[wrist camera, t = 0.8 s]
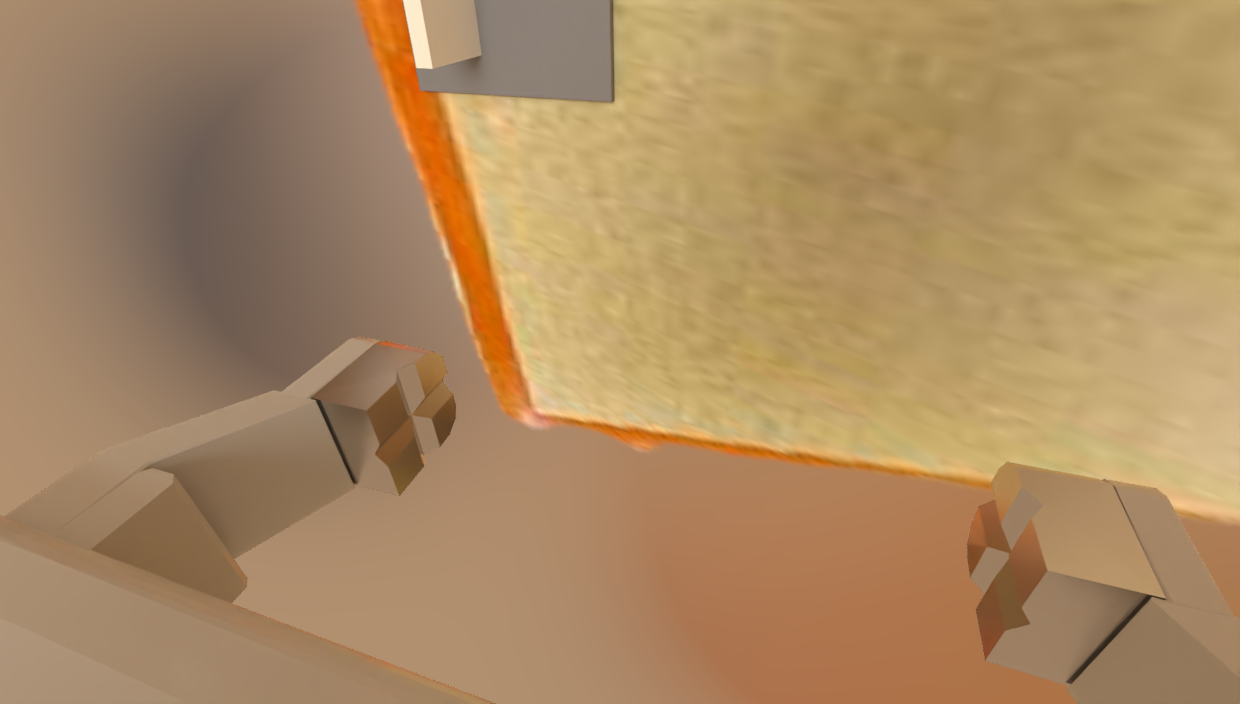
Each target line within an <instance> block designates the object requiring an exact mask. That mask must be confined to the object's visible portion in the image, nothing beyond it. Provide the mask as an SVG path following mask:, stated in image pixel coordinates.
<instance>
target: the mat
mask: <svg viewBox="0 0 1240 704" xmlns="http://www.w3.org/2000/svg"><path fill="white" fill-rule="evenodd" d="M474 2H475V10H476V17H477V24H478V32H479V39H480V47H481V54H482V55H481V56H477V57H474V58H470V59H467V60H463V61H459V62H456V63H452V64H448V65H445V66H441V67H438V68H434V69H426V68H416V71H417V77H418V82H419V87H420V91H436V92H452V93H469V94H486V95H503V96H519V97H536V98H553V99H570V100H586V101H603V102H612V101H614V68H613V7H612V0H474ZM403 5H404V2H403ZM404 10H405V7H404ZM405 16H406V12H405ZM406 21H407V17H406ZM407 26H408V23H407ZM408 31H409V28H408ZM409 36H410V33H409ZM410 41H411V38H410ZM411 46H412V43H411ZM412 51H413V48H412ZM413 56H414V53H413ZM414 61H415V58H414ZM415 66H416V63H415Z"/></svg>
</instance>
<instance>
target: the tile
mask: <svg viewBox="0 0 1240 704" xmlns="http://www.w3.org/2000/svg"><path fill="white" fill-rule="evenodd" d="M403 2H404V7H405V12H406V17H407V23H408V28H409V33H410V38H411V43H412V48H413V53H414V58H415V63H416V68H426V69H434V68H438V67H441V66H445V65H448V64H452V63H456V62H459V61H463V60H467V59H470V58H474V57H477V56H481V55H482V54H481V47H480V39H479V32H478V24H477V17H476V10H475V2H474V0H403Z"/></svg>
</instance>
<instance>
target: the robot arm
mask: <svg viewBox="0 0 1240 704" xmlns="http://www.w3.org/2000/svg"><path fill="white" fill-rule="evenodd" d="M447 373H448V372H447V369H446V366H445V362H444V359H443V356H441V355H439V354H437V353H435V352H433V351H428V350H424V349H419V348H415V347H410V346H406V345H401V344H396V343H392V342H387V341H379V340H375V339H371V338H367V337H362V336H361V337H355V338H350V339H349V340H348V341H347V342H345V343H344V344H343V345H341V346H340V347H339V348H337V349H336V350H335V351H334V352H332V353H331V354H330V355H328V356H327V357H326V358H325V359H323V360H322V361H321V362H319V363H318V364H317V365H316V366H314V367H313V368H312V369H310V370H309V371H308V372H307V373H306V374H304V375H303V376H302V377H300V378H299V379H298V380H296V381H295V382H294V383H293V384H291V385H290V386H289V387H288V388H286V389H285V390H284V391H282V392H278V391H271V392H268V393H265V394H262V395H259V396H257V397H254V398H251V399H248V400H245V401H242V402H239V403H236V404H233V405H231V406H228V407H225V408H222V409H219V410H216V411H213V412H210V413H207V414H204V415H201V416H199V417H196V418H193V419H190V420H187V421H184V422H181V423H178V424H175V425H173V426H170V427H167V428H164V429H161V430H158V431H155V432H152V433H149V434H146V435H144V436H141V437H138V438H135V439H132V440H129V441H126V442H123V443H120V444H117V445H115V446H112V447H109V448H106V449H103V450H101V451H100V452H99V453H97V454H95V455H94V456H93V457H91V458H90V459H88V460H87V461H85V462H84V463H82V464H81V465H79V466H78V467H76V468H75V469H73V470H72V471H70V472H69V473H68V474H66V475H65V476H63V477H62V478H60V479H59V480H57V481H56V482H54V483H53V484H51V485H50V486H48V487H47V488H45V489H44V490H42V491H41V492H40V493H38V494H36V495H35V496H33V497H32V498H30V499H29V500H28V501H26V502H25V503H23V504H22V505H20V506H19V507H17V508H16V509H15V510H13V511H11V512H10V513H8V514H7V515H5V516H4V517H3V516H0V704H496V703H493V702H490V701H488V700H485V699H483V698H480V697H477V696H475V695H472V694H470V693H467V692H464V691H462V690H459V689H456V688H454V687H451V686H449V685H446V684H443V683H441V682H438V681H435V680H433V679H430V678H427V677H425V676H422V675H420V674H417V673H414V672H412V671H409V670H406V669H404V668H401V667H398V666H396V665H393V664H390V663H388V662H385V661H383V660H380V659H377V658H375V657H372V656H369V655H367V654H364V653H362V652H359V651H356V650H354V649H351V648H348V647H346V646H343V645H340V644H338V643H335V642H332V641H330V640H327V639H324V638H322V637H319V636H317V635H314V634H311V633H309V632H306V631H303V630H301V629H298V628H296V627H293V626H290V625H288V624H285V623H282V622H280V621H277V620H275V619H272V618H269V617H267V616H264V615H261V614H259V613H256V612H253V611H251V610H248V609H246V608H243V607H240V606H238V605H235V604H232V603H233V601H234V600H235V599H236V598H237V597H238V596H239V595H240V594H241V593H242V592H243V591H244V590H245V588H246V587H247V579H248V578H247V576H246V575H245V574H244V572H243V571H242V569H241V568H240V567H239V565H238V564H237V562H236V561H235V560H234V559H235V558H237V557H238V556H240V555H242V554H244V553H245V552H247V551H249V550H251V549H252V548H254V547H256V546H257V545H259V544H261V543H262V542H264V541H266V540H268V539H269V538H271V537H273V536H274V535H276V534H278V533H279V532H281V531H283V530H285V529H286V528H288V527H290V526H291V525H293V524H295V523H296V522H298V521H300V520H301V519H303V518H305V517H306V516H308V515H310V514H312V513H313V512H315V511H317V510H318V509H320V508H322V507H324V506H325V505H327V504H328V503H330V502H332V501H334V500H335V499H337V498H339V497H341V496H342V495H344V494H346V493H347V492H349V491H351V490H352V489H354V488H355V486H354V485H356V486H360V487H364V488H368V489H372V490H376V491H380V492H384V493H388V494H392V495H397V496H400V495H401V494H402V493H403V491H404V490H405V489H406V488H407V486H408V485H409V484H410V483H411V482H412V481H413V479H414V478H415V477H416V476H417V474H418V473H419V472H420V471H421V470H422V468H423V467H424V455H425V454H427V453H429V452H431V451H433V450H435V449H437V448H439V447H440V446H441V445H442V444H443V443H444V441H445V440H446V439H447V437H448V436H449V435H450V432H451V430H452V427H453V424H454V422H455V419H456V403H455V399H454V395H453V393H452V392H451V391H450V390H449V388H448V387H447V386H446V385H445V384H444V383H443V380H444V378H445V377H446V375H447ZM991 484H992V489H993V493H994V497H995V499H994V500H992V501H990V502H988V503H985V504H983V505H981V506H979V507H978V510H977V512H976V514H975V516H974V519H973V521H972V523H971V526H970V532H969V537H968V542H967V559H968V567H969V573H970V578H971V579H972V580H973V581H974V582H975V584H976V585H977V586H978V587H979V588H980V589H981V591H982V592H983V593H984V594H985V595H984V596H983V598H982V599H981V601H980V603H979V605H978V606H977V608H976V614H977V618H978V624H979V630H980V635H981V640H982V645H983V652H984V657H985V661H988V662H992V663H995V664H998V665H1001V666H1005V667H1008V668H1011V669H1015V670H1018V671H1021V672H1024V673H1028V674H1031V675H1034V676H1038V677H1041V678H1044V679H1048V680H1051V681H1054V682H1057V683H1061V684H1064V685H1067V686H1069V687H1068V689H1067V690H1068V691H1069V693H1070V694H1071V695H1072V697H1073V698H1074V699H1075V701H1076V702H1077V703H1078V704H1240V618H1237V617H1234V615H1233V613H1232V611H1231V610H1230V608H1229V606H1228V604H1227V603H1226V601H1225V599H1224V597H1223V595H1222V594H1221V592H1220V590H1219V588H1218V586H1217V585H1216V583H1215V581H1214V579H1213V578H1212V576H1211V574H1210V573H1209V570H1208V569H1207V567H1206V565H1205V563H1204V562H1203V560H1202V558H1201V556H1200V554H1199V553H1198V551H1197V549H1196V547H1195V546H1194V544H1193V542H1192V540H1191V538H1190V537H1189V535H1188V533H1187V531H1186V530H1185V528H1184V526H1183V524H1182V522H1181V521H1180V519H1179V517H1178V515H1177V514H1176V512H1175V510H1174V508H1173V506H1172V505H1171V503H1170V501H1169V499H1168V498H1167V497H1166V496H1165V495H1164V494H1163V493H1162V492H1160V491H1159V490H1158V489H1156V488H1151V487H1145V486H1140V485H1134V484H1128V483H1123V482H1117V481H1111V480H1106V479H1104V480H1099V479H1096V478H1091V477H1085V476H1080V475H1074V474H1069V473H1064V472H1058V471H1053V470H1048V469H1042V468H1037V467H1031V466H1026V465H1021V464H1015V463H1010V462H1006V463H1005V464H1004V465H1003V466H1002V467H1000V468H999V469H998V471H997V473H996V475H995V477H994V479H993V480H992V482H991Z"/></svg>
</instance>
